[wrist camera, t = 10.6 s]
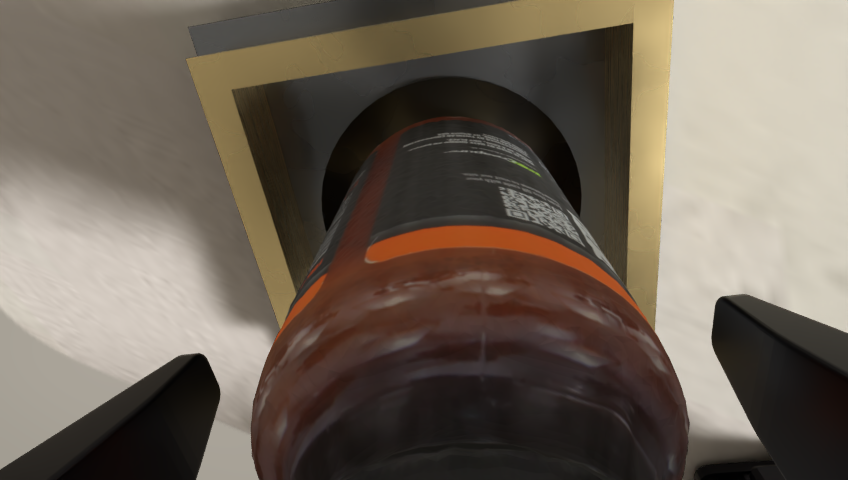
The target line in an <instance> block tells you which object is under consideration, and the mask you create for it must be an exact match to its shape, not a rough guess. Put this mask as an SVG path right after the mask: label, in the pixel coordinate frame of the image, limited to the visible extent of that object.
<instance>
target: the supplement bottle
mask: <svg viewBox="0 0 848 480" xmlns="http://www.w3.org/2000/svg"><path fill="white" fill-rule="evenodd" d="M689 425H690V422H689V418H688V414H687V407H686V401H685V398H684V395H683V391H682V388H681V385H680V383H679V380H678V377H677V375H676V373H675V370H674V368H673V366H672V363H671V361H670V359H669V357H668V355H667V353H666V351H665V349H664V347H663V346H662V344H661V342H660V340H659V338H658V336H657V335H656V333H655V332H654V330H653V329H652V327H651V326H650V324H649V323H648V321H647V318H646V317H645V316H644V314H643V313H642V312H641V310H640V309H639V307H638V305H637V303H636V301H635V300H634V298H633V297H632V295H631V294H630V292H629V291H628V289H627V288H626V287H625V285H624V284H623V282H622V281H621V279H620V278H619V277H618V275H617V274H616V272H615V271H614V269H613V267H612V266H611V264H610V263H609V261H608V260H607V258H606V257H605V255H604V254H603V253H602V251H601V250H600V248H599V247H598V245H597V244H596V242H595V240H594V239H593V237H592V236H591V234H590V232H589V231H588V230H587V228H586V227H585V226H584V224H583V222H582V221H581V219H580V218H579V216H578V215H577V214H576V212H575V210H574V209H573V207H572V206H571V204H570V203H569V202H568V200H567V198H566V197H565V195H564V194H563V192H562V191H561V189H560V188H559V187H558V185H557V183H556V182H555V180H554V179H553V177H552V176H551V174H550V173H549V171H548V169H547V168H546V167H545V165H544V164H543V163H542V161H541V160H540V159H539V158H538V157H537V156H536V155H535V154H534V152H533V151H532V149H531V148H530V147H529V146H528V145H527V144H526V143H524V142H523V141H521V140H520V139H519V138H517V137H516V136H515V135H513V134H512V133H510V132H508V131H507V130H505V129H503V128H502V127H499V126H496V125H494V124H492V123H489V122H486V121H483V120H479V119H473V118H467V117H460V116H458V117H452V116H446V117H437V118H432V119H428V120H424V121H421V122H418V123H415V124H412V125H410V126H408V127H406V128H403V129H402V130H400V131H398V132H396V133H394V134H393V135H391V136H390V137H389V138H387V139H386V140H385V141H384V142H382V143H381V144H380V145H378V146H377V147H376V148H375V149H374V150H373V152H372V153H371V154H370V155H369V156H368V158H367V159H366V160H365V162H364V163H363V164H362V166H361V168H360V169H359V171H358V172H357V174H356V175H355V177H354V179H353V181H352V184H351V186H350V188H349V189H348V192H347V194H346V196H345V198H344V199H343V202H342V204H341V205H340V208H339V210H338V212H337V214H336V216H335V218H334V220H333V222H332V224H331V226H330V228H329V230H328V232H327V234H326V236H325V238H324V240H323V242H322V244H321V246H320V249H319V251H318V252H317V255H316V257H315V259H314V261H313V263H312V265H311V267H310V269H309V271H308V273H307V275H306V277H305V279H304V281H303V283H302V284H301V286H300V288H299V290H298V292H297V294H296V296H295V298H294V300H293V302H292V303H291V305H290V308H289V311H288V314H287V316H286V318H285V322H284V324H283V326H282V328H281V329H280V331H279V333H278V335H277V337H276V339H275V341H274V343H273V345H272V348H271V350H270V352H269V354H268V357H267V359H266V362H265V365H264V368H263V371H262V374H261V377H260V380H259V384H258V387H257V391H256V394H255V398H254V401H253V411H252V421H251V446H252V457H253V460H254V464H255V469H256V471H257V475H258V478H259V480H682V477H683V474H684V469H685V463H686V461H685V459H686V455H687V452H688V432H689Z"/></svg>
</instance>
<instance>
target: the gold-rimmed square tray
mask: <svg viewBox="0 0 848 480" xmlns="http://www.w3.org/2000/svg"><path fill="white" fill-rule="evenodd" d="M673 7H674V0H335V1H330V2H324V3H319V4H313V5H308V6H302V7H297V8H291V9H286V10H280V11H275V12H269V13H263V14H258V15H252V16H247V17H241V18H236V19H230V20H225V21H219V22H214V23H208V24H203V25H197V26H192V27H188V29H189V32H190V35H191V38H192V41H193V44H194V47H195V50H196V53H197V57H192V58H187V59H186V61H187V64H188V67H189V70H190V73H191V76H192V78H193V81H194V84H195V87H196V90H197V93H198V96H199V98H200V101H201V104H202V107H203V110H204V113H205V116H206V118H207V121H208V124H209V127H210V130H211V133H212V136H213V138H214V141H215V144H216V147H217V150H218V153H219V156H220V159H221V161H222V164H223V167H224V170H225V173H226V176H227V179H228V181H229V184H230V187H231V190H232V193H233V196H234V199H235V201H236V204H237V207H238V210H239V213H240V216H241V219H242V221H243V224H244V227H245V230H246V233H247V236H248V239H249V241H250V244H251V247H252V250H253V253H254V256H255V259H256V261H257V264H258V267H259V270H260V273H261V276H262V279H263V281H264V284H265V287H266V290H267V293H268V296H269V299H270V301H271V304H272V307H273V310H274V313H275V316H276V319H277V322H278V324H279V327H280V329H281V328H282V326H283V324H284V322H285V318H286V316H287V314H288V311H289V308H290V305H291V303H292V302H293V300H294V298H295V296H296V294H297V292H298V290H299V288H300V286H301V284H302V283H303V281H304V279H305V277H306V275H307V273H308V271H309V269H310V267H311V265H312V263H313V261H314V259H315V257H316V255H317V252H318V251H319V249H320V246H321V244H322V242H323V240H324V238H325V236H326V234H327V232H328V230H329V228H330V226H331V224H332V222H333V220H334V218H335V216H336V214H337V212H338V210H339V208H340V205H341V204H342V202H343V199H344V198H345V196H346V194H347V192H348V189H349V188H350V186H351V184H352V181H353V179H354V177H355V175H356V174H357V172H358V171H359V169H360V168H361V166H362V164H363V163H364V162H365V160H366V159H367V158H368V156H369V155H370V154H371V153H372V152H373V150H374V149H375V148H376V147H377V146H378V145H380V144H381V143H382V142H384V141H385V140H386V139H387V138H389V137H390V136H391V135H393V134H394V133H396V132H398V131H400V130H402V129H403V128H406V127H408V126H410V125H412V124H415V123H418V122H421V121H424V120H428V119H432V118H437V117H446V116H452V117H458V116H460V117H467V118H473V119H479V120H483V121H486V122H489V123H492V124H494V125H496V126H499V127H502V128H503V129H505V130H507V131H508V132H510V133H512V134H513V135H515V136H516V137H517V138H519V139H520V140H521V141H523V142H524V143H526V144H527V145H528V146H529V147H530V148H531V149H532V151H533V152H534V154H535V155H536V156H537V157H538V158H539V159H540V160H541V161H542V163H543V164H544V165H545V167H546V168H547V169H548V171H549V173H550V174H551V176H552V177H553V179H554V180H555V182H556V183H557V185H558V187H559V188H560V189H561V191H562V192H563V194H564V195H565V197H566V198H567V200H568V202H569V203H570V204H571V206H572V207H573V209H574V210H575V212H576V214H577V215H578V216H579V218H580V219H581V221H582V222H583V224H584V226H585V227H586V228H587V230H588V231H589V232H590V234H591V236H592V237H593V239H594V240H595V242H596V244H597V245H598V247H599V248H600V250H601V251H602V253H603V254H604V255H605V257H606V258H607V260H608V261H609V263H610V264H611V266H612V267H613V269H614V271H615V272H616V274H617V275H618V277H619V278H620V279H621V281H622V282H623V284H624V285H625V287H626V288H627V289H628V291H629V292H630V294H631V295H632V297H633V298H634V300H635V301H636V303H637V305H638V307H639V309H640V310H641V312H642V313H643V314H644V316H645V317H646V318H647V321H648V323H649V324H650V326H651V327H652V329H653V330H654V332H655V316H656V298H657V281H658V264H659V247H660V230H661V213H662V196H663V178H664V161H665V144H666V127H667V110H668V93H669V75H670V58H671V41H672V24H673Z"/></svg>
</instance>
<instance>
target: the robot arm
mask: <svg viewBox="0 0 848 480" xmlns="http://www.w3.org/2000/svg"><path fill="white" fill-rule="evenodd" d="M711 339H712V346H713V349H714V352H715V354H716V356H717V358H718V360H719V362H720V364H721V366H722V368H723V370H724V372H725V374H726V376H727V378H728V380H729V382H730V384H731V386H732V388H733V390H734V392H735V394H736V396H737V398H738V400H739V402H740V403H741V405H742V407H743V409H744V411H745V413H746V415H747V417H748V419H749V421H750V423H751V425H752V427H753V429H754V431H755V432H756V434H757V436H758V437H759V439H760V441H761V442H762V444H763V446H764V447H765V449H766V450H767V452H768V453H769V455H770V457H771V458H772V460H773V461H760V462H747V463H733V464H719V465H707V466H703V467H701V468H699V469H698V470H697V471H696V473H695V477H694V480H848V333H846V332H843V331H841V330H838V329H835V328H833V327H830V326H828V325H825V324H822V323H820V322H817V321H815V320H812V319H810V318H807V317H804V316H802V315H799V314H797V313H794V312H791V311H789V310H786V309H784V308H781V307H778V306H776V305H773V304H771V303H768V302H765V301H763V300H760V299H758V298H755V297H753V296H750V295H746V294H740V295H731V296H722V297H720V298H719V299H718V300H717V302H716V305H715V312H714V320H713V328H712V338H711ZM219 401H220V387H219V384H218V382H217V380H216V378H215V375H214V373H213V371H212V369H211V366H210V364H209V362H208V360H207V358H206V357H205V356H204V355H203V354H200V353H196V354H186V355H180V356H178V357H176V358H174V359H173V360H171V361H170V362H168V363H167V364H165V365H163V366H162V367H160V368H159V369H157V370H156V371H154V372H152V373H151V374H149V375H148V376H146V377H145V378H143V379H142V380H140V381H138V382H137V383H135V384H134V385H132V386H131V387H129V388H127V389H126V390H125V391H123V392H121V393H120V394H118V395H116V396H115V397H113V398H112V399H110V400H109V401H107V402H105V403H104V404H102V405H101V406H99V407H98V408H96V409H95V410H93V411H91V412H90V413H88V414H87V415H85V416H84V417H82V418H80V419H79V420H77V421H76V422H74V423H73V424H71V425H69V426H68V427H66V428H65V429H63V430H62V431H60V432H59V433H57V434H55V435H54V436H52V437H51V438H49V439H47V440H46V441H44V442H43V443H41V444H40V445H38V446H36V447H35V448H33V449H32V450H30V451H29V452H27V453H26V454H24V455H23V456H21V457H19V458H18V459H16V460H15V461H13V462H12V463H10V464H8V465H7V466H5V467H4V468H2V469H1V470H0V480H196V478H197V475H198V472H199V468H200V466H201V462H202V459H203V456H204V452H205V449H206V445H207V442H208V439H209V435H210V431H211V428H212V425H213V422H214V418H215V415H216V411H217V408H218V404H219Z"/></svg>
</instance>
